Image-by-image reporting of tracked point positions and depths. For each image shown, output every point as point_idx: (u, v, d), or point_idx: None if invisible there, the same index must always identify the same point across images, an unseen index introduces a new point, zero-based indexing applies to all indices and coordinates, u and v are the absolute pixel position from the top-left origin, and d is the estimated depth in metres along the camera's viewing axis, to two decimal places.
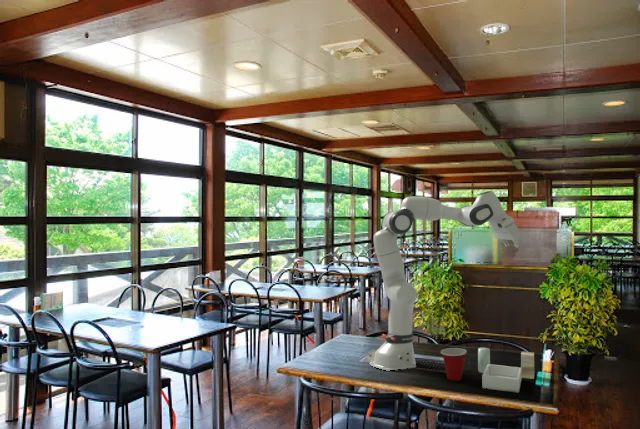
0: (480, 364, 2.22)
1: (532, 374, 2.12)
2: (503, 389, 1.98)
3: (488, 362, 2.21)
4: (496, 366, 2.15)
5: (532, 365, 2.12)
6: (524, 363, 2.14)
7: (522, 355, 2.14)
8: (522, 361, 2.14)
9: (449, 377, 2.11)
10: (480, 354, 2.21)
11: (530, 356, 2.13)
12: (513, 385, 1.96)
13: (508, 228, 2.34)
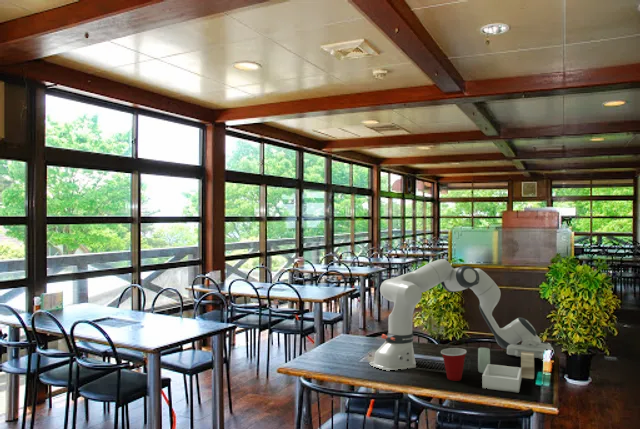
0: (480, 364, 2.22)
1: (532, 374, 2.12)
2: (503, 389, 1.98)
3: (488, 362, 2.21)
4: (496, 366, 2.15)
5: (532, 365, 2.12)
6: (524, 363, 2.14)
7: (522, 355, 2.14)
8: (522, 361, 2.14)
9: (449, 377, 2.11)
10: (480, 354, 2.21)
11: (530, 356, 2.13)
12: (513, 385, 1.96)
13: None
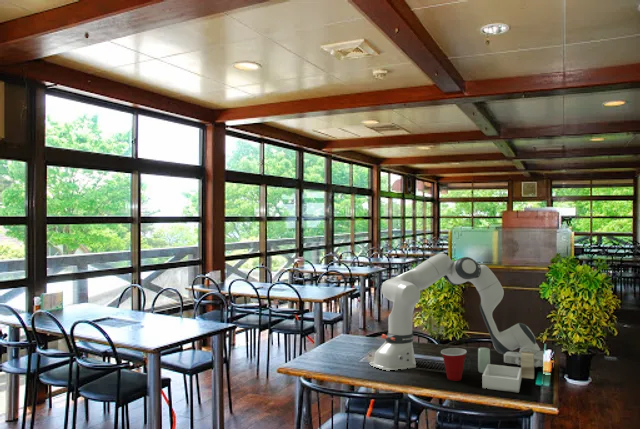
0: (480, 364, 2.22)
1: (532, 374, 2.12)
2: (503, 389, 1.98)
3: (488, 362, 2.21)
4: (496, 366, 2.15)
5: (532, 365, 2.12)
6: (524, 363, 2.14)
7: (522, 355, 2.14)
8: (522, 361, 2.14)
9: (449, 377, 2.11)
10: (480, 354, 2.21)
11: (530, 356, 2.13)
12: (513, 385, 1.96)
13: None
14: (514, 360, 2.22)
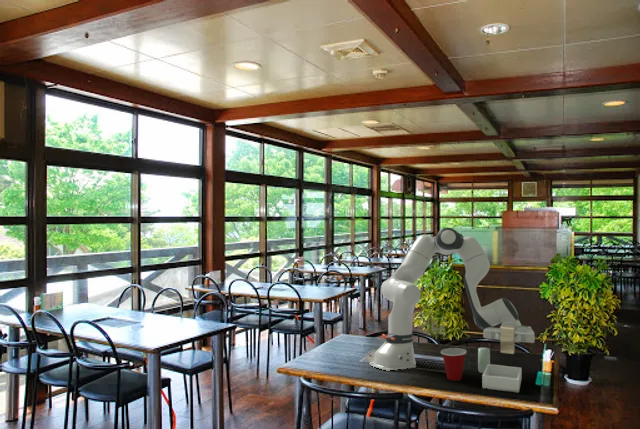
0: (480, 364, 2.22)
1: (512, 349, 2.03)
2: (503, 389, 1.98)
3: (488, 362, 2.21)
4: (496, 366, 2.15)
5: (512, 339, 2.03)
6: (504, 337, 2.04)
7: (502, 329, 2.05)
8: (502, 335, 2.05)
9: (449, 377, 2.11)
10: (480, 354, 2.21)
11: (510, 330, 2.03)
12: (513, 385, 1.96)
13: None
14: (494, 335, 2.13)
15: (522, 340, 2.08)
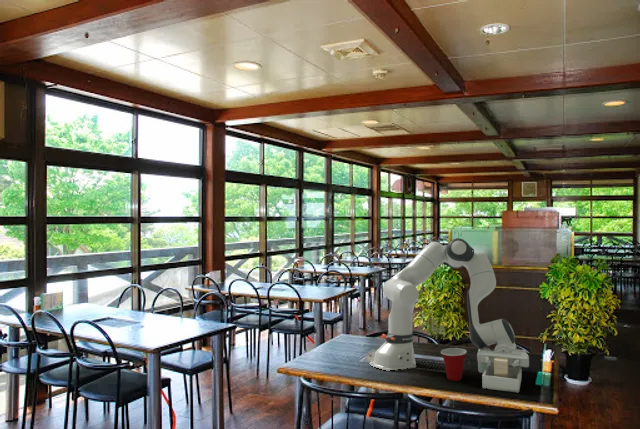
0: (480, 364, 2.22)
1: None
2: (503, 389, 1.98)
3: None
4: None
5: (506, 372, 2.00)
6: (498, 369, 2.01)
7: (495, 361, 2.01)
8: (495, 368, 2.01)
9: (449, 377, 2.11)
10: None
11: (504, 362, 2.00)
12: (513, 385, 1.96)
13: None
14: None
15: None
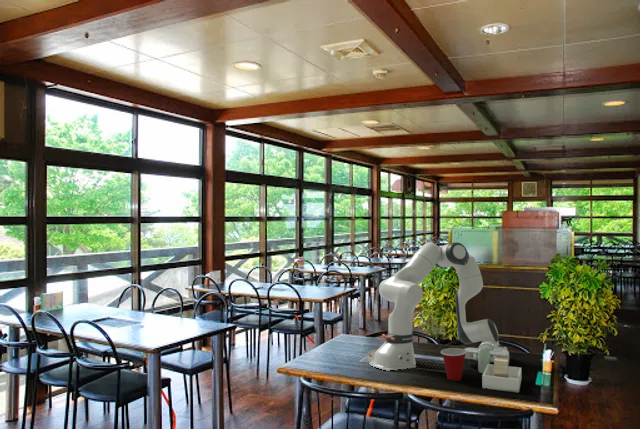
0: (480, 364, 2.22)
1: None
2: (503, 389, 1.98)
3: (488, 362, 2.21)
4: None
5: (506, 372, 2.00)
6: (498, 369, 2.01)
7: (495, 361, 2.01)
8: (495, 368, 2.01)
9: (449, 377, 2.11)
10: (480, 354, 2.21)
11: (504, 362, 2.00)
12: (513, 385, 1.96)
13: None
14: (472, 356, 2.29)
15: None
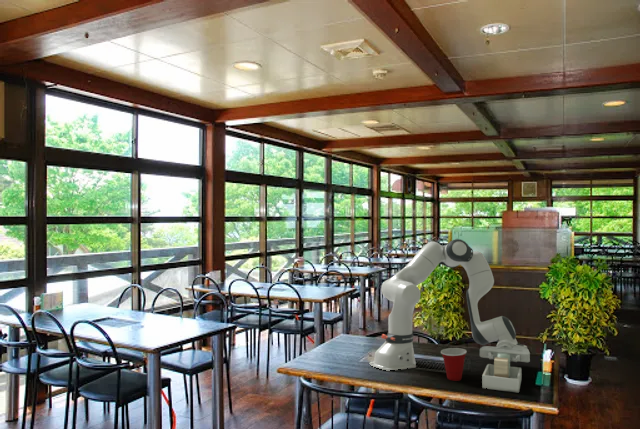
0: None
1: None
2: (503, 389, 1.98)
3: None
4: None
5: (506, 372, 2.00)
6: (498, 369, 2.01)
7: (495, 361, 2.01)
8: (495, 368, 2.01)
9: (449, 377, 2.11)
10: None
11: (504, 362, 2.00)
12: (513, 385, 1.96)
13: None
14: None
15: None
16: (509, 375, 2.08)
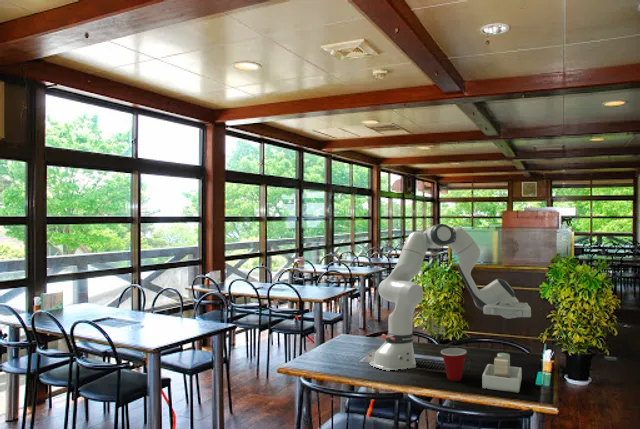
0: None
1: None
2: (503, 389, 1.98)
3: None
4: None
5: (506, 372, 2.00)
6: (498, 369, 2.01)
7: (495, 361, 2.01)
8: (495, 368, 2.01)
9: (449, 377, 2.11)
10: None
11: (504, 362, 2.00)
12: (513, 385, 1.96)
13: None
14: None
15: None
16: (509, 375, 2.08)
